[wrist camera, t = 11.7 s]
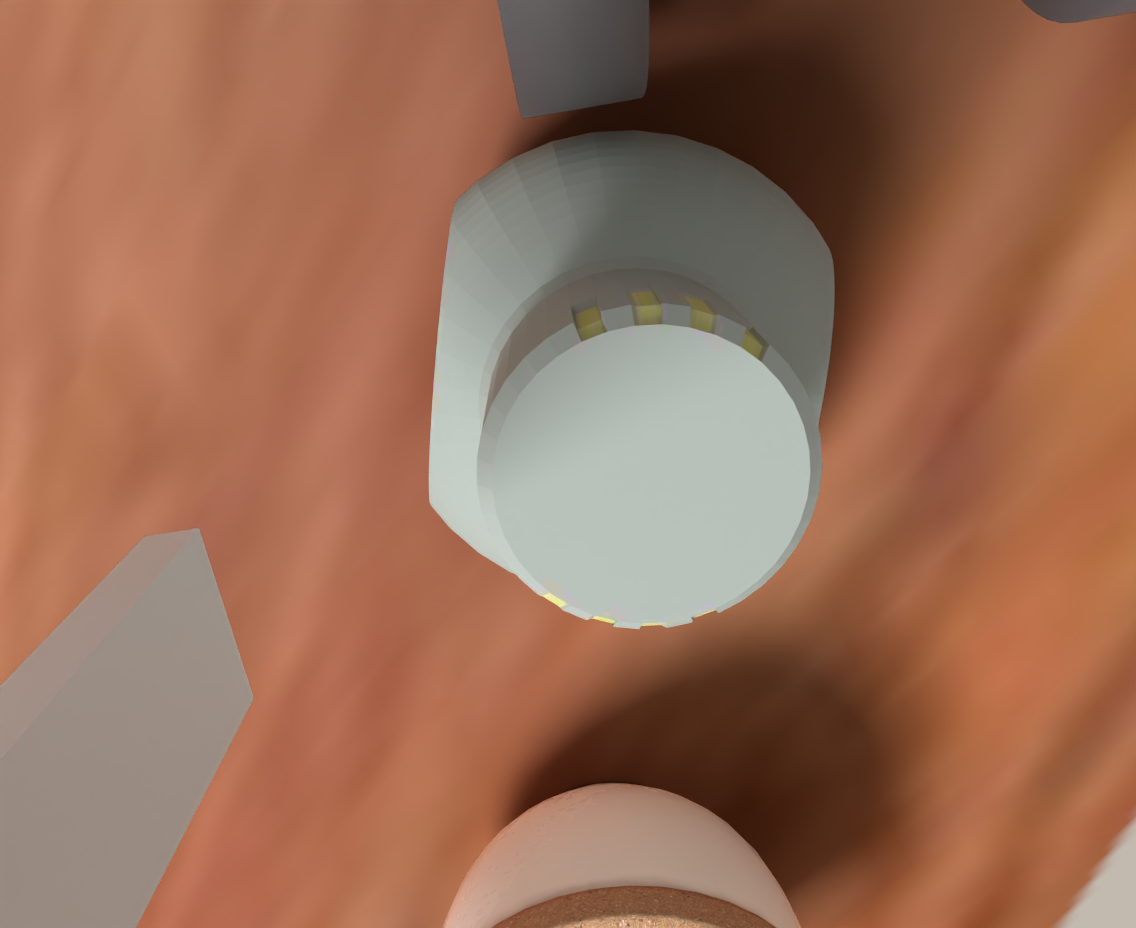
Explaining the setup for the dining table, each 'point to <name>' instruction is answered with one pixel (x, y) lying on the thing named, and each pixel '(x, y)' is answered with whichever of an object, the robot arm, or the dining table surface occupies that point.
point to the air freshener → (631, 375)
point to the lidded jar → (619, 868)
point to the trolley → (633, 47)
